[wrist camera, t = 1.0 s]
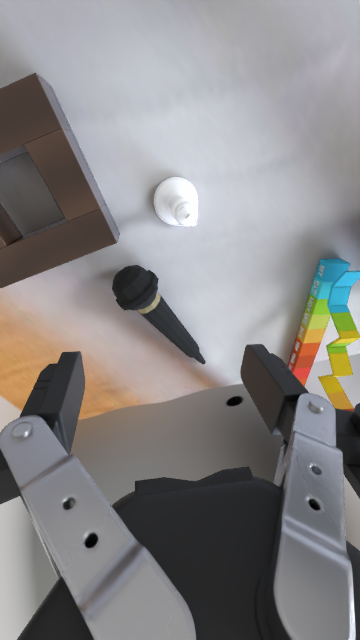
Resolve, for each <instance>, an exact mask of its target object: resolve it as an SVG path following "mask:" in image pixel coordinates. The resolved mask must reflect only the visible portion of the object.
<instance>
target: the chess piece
mask: <svg viewBox="0 0 360 640" xmlns="http://www.w3.org/2000/svg"><path fill="white" fill-rule="evenodd" d="M197 206H198V197H197V193H196V190H195V188H194V187H193V185H192V184H191V183H190V182H189V181H187V180H186V179H184V178H181V177H171V178H168V179H166V180H164V181H163V182H162V183H161V184H160V185H159V186H158V187H157V189H156V191H155V195H154V208H155V211H156V213H157V215H158V216H159V218H160V219H161V220H162V221H164V222H165V223H167V224H170V225H175V226H177V225H181V226H190V225H192V226H193V227H194V226H195V225H196V224H197V222H196V220H197V217H198V210H197Z"/></svg>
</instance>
